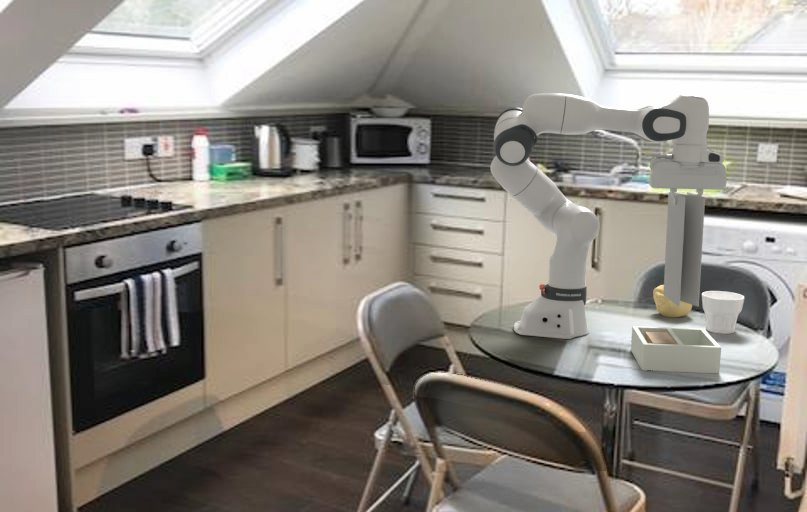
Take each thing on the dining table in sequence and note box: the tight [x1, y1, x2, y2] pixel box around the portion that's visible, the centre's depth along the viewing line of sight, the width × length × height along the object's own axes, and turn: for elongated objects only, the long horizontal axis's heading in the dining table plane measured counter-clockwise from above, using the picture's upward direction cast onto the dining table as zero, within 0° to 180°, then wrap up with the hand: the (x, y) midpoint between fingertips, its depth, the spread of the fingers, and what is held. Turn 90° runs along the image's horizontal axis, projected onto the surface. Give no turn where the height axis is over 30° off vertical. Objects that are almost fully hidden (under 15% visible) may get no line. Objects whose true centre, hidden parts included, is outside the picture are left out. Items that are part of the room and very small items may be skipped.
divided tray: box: [630, 325, 722, 374], centre depth 234 cm, size 20×18×7 cm
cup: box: [701, 290, 745, 335], centre depth 266 cm, size 12×12×11 cm
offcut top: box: [645, 332, 676, 344], centre depth 234 cm, size 6×11×4 cm, turn 175°
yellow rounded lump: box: [652, 284, 693, 318], centre depth 283 cm, size 12×12×11 cm
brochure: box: [663, 191, 706, 307], centre depth 241 cm, size 14×6×30 cm, turn 0°
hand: (685, 205), depth 239 cm, fingers closed on brochure, 3 cm apart
